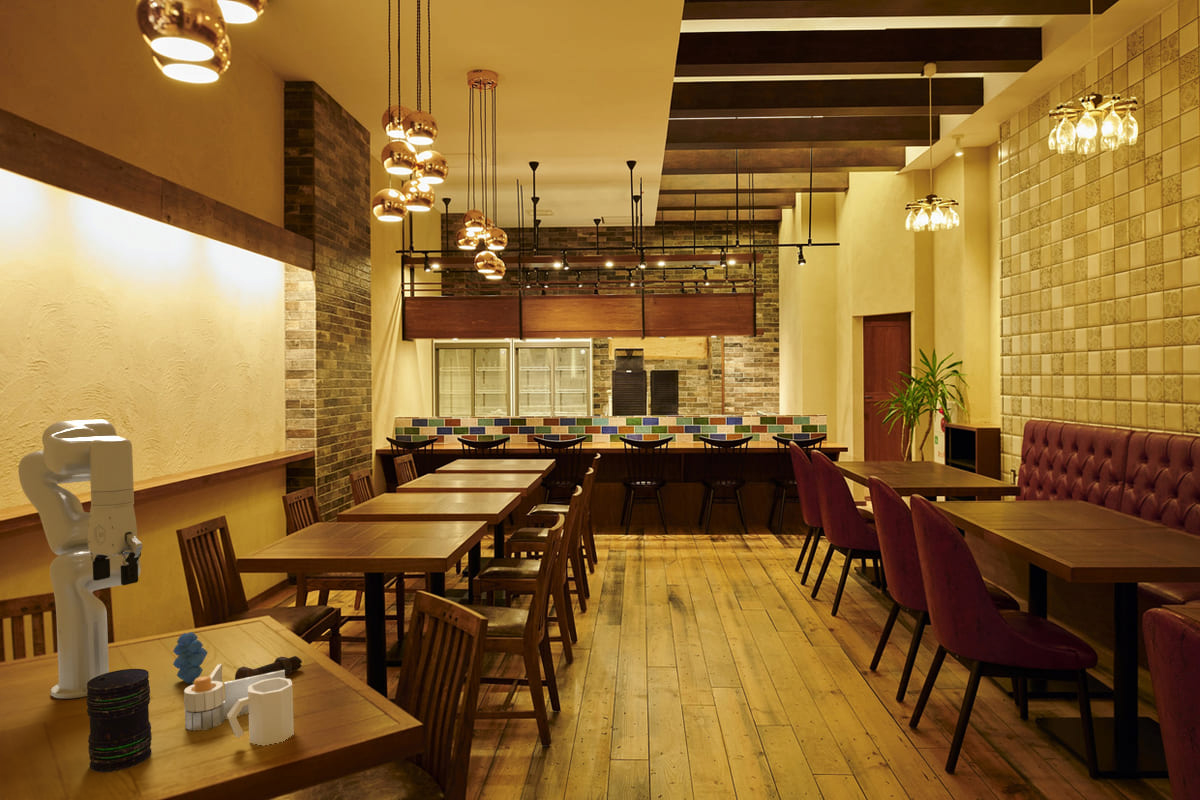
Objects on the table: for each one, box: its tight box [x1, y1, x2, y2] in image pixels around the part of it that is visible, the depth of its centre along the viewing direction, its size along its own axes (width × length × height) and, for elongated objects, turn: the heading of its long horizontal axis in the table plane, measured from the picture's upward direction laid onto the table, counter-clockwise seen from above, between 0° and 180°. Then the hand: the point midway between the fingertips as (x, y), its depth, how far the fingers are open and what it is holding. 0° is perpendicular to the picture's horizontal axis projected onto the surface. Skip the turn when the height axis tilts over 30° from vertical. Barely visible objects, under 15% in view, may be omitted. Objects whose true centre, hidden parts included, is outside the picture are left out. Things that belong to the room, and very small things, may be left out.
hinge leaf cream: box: [183, 663, 225, 712], centre depth 163 cm, size 17×7×7 cm, turn 14°
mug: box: [227, 677, 295, 747], centre depth 150 cm, size 12×9×10 cm
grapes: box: [172, 631, 209, 685], centre depth 181 cm, size 12×7×12 cm, turn 52°
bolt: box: [234, 655, 303, 680], centre depth 181 cm, size 6×5×15 cm
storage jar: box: [86, 668, 153, 773], centre depth 143 cm, size 10×10×15 cm
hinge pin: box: [193, 675, 212, 692], centre depth 158 cm, size 3×3×9 cm
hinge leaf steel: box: [184, 670, 286, 732], centre depth 161 cm, size 7×19×7 cm, turn 124°
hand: (115, 581), depth 161 cm, fingers open, 9 cm apart
